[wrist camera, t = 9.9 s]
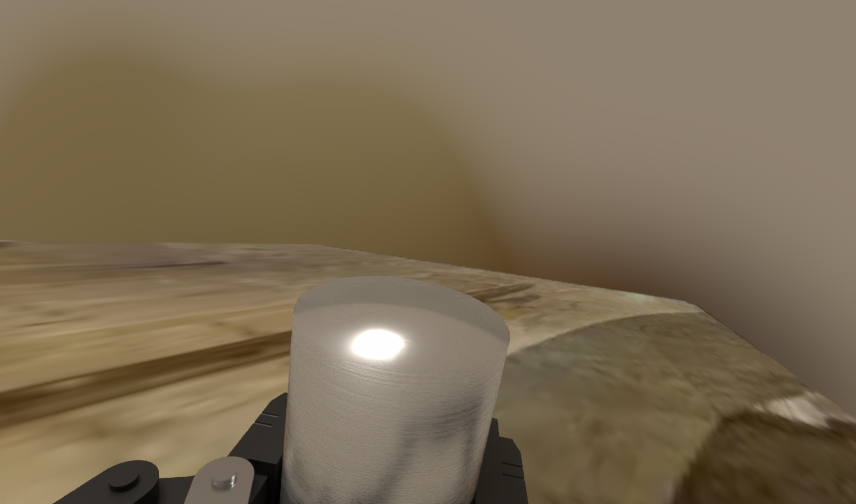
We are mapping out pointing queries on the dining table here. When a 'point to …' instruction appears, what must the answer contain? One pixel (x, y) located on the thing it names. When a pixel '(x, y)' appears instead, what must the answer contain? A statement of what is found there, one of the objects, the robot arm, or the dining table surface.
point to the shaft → (389, 393)
